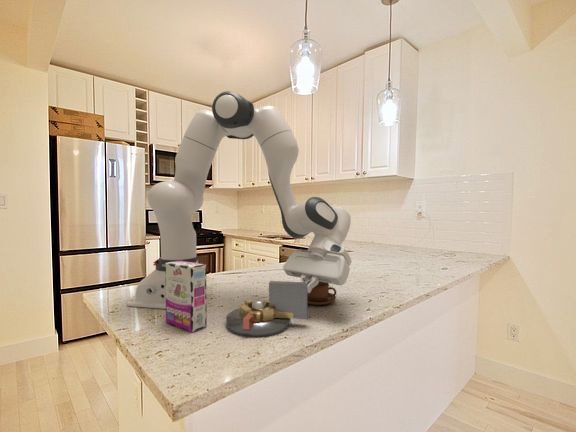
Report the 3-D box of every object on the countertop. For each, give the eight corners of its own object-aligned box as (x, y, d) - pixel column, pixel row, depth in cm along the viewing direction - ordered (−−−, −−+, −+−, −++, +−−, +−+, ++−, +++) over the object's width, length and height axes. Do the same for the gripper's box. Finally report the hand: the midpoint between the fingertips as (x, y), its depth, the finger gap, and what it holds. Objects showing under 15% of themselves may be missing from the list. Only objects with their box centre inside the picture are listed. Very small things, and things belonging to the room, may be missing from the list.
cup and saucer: (332, 296, 103) (332, 278, 103) (338, 308, 91) (338, 288, 91) (298, 296, 103) (298, 278, 103) (299, 308, 91) (300, 288, 91)
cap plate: (219, 338, 70) (219, 313, 70) (232, 311, 88) (232, 291, 87) (291, 337, 71) (291, 312, 70) (289, 311, 88) (289, 291, 88)
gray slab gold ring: (235, 320, 75) (234, 285, 75) (246, 307, 85) (246, 276, 84) (305, 325, 72) (305, 288, 72) (308, 311, 82) (309, 278, 82)
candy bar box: (208, 326, 77) (207, 264, 76) (192, 333, 73) (191, 267, 72) (180, 317, 83) (180, 259, 83) (164, 323, 79) (164, 262, 78)
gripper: (291, 242, 94) (270, 279, 87) (349, 248, 81) (331, 291, 74) (299, 254, 98) (280, 290, 91) (356, 262, 85) (339, 304, 78)
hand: (303, 291), depth 82 cm, fingers closed
